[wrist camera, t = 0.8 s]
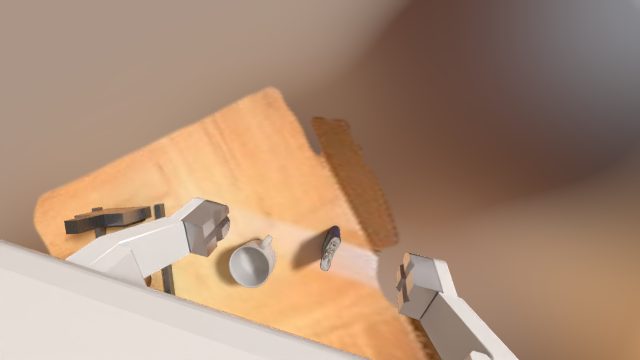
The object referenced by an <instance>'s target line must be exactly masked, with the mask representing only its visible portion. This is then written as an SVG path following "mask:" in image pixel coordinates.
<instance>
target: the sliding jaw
mask: <svg viewBox="0 0 640 360" xmlns="http://www.w3.org/2000/svg"><path fill="white" fill-rule="evenodd" d="M74 217H75V219H71V220H67V221H64V222H65V229H66V234H79V233H82V232H86V231H89V230H93V229H96V228H104V227H123V226H129V225H132V224H135V223H138V222H142V221H145V220H146V218H149V217H151V209H150V206H148V207H131V208H114V209H105V210H100V211H95V212H91V213H86V214H81V215H76V216H74Z"/></svg>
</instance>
